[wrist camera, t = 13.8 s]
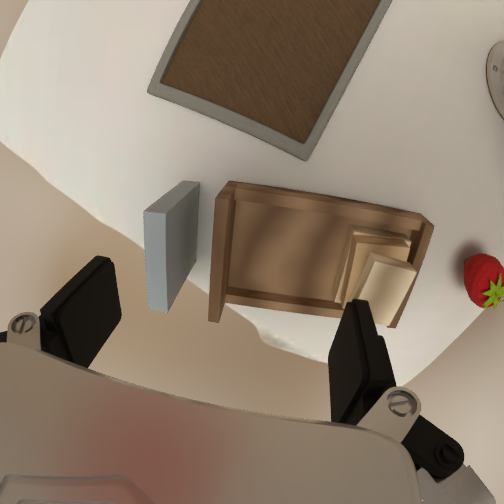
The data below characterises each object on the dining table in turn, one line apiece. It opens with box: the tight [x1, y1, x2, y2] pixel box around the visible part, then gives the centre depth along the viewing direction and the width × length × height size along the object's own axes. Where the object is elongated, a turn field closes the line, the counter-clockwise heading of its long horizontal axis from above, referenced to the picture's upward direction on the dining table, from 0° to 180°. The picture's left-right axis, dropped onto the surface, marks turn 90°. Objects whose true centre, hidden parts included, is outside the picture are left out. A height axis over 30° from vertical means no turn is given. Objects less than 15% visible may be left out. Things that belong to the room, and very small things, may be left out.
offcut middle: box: [340, 234, 410, 309], centre depth 32 cm, size 6×8×2 cm
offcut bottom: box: [332, 224, 411, 303], centre depth 34 cm, size 7×9×2 cm
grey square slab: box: [143, 181, 200, 313], centre depth 31 cm, size 2×10×11 cm, turn 173°
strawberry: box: [464, 253, 504, 310], centre depth 30 cm, size 6×8×10 cm
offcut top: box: [349, 252, 417, 326], centre depth 30 cm, size 5×7×2 cm
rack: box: [208, 181, 434, 328], centre depth 33 cm, size 23×14×7 cm, turn 83°
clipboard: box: [147, 0, 392, 161], centre depth 24 cm, size 19×2×30 cm
